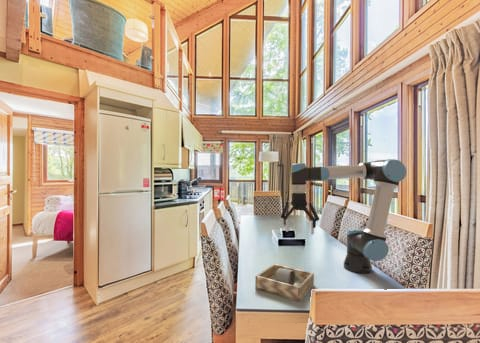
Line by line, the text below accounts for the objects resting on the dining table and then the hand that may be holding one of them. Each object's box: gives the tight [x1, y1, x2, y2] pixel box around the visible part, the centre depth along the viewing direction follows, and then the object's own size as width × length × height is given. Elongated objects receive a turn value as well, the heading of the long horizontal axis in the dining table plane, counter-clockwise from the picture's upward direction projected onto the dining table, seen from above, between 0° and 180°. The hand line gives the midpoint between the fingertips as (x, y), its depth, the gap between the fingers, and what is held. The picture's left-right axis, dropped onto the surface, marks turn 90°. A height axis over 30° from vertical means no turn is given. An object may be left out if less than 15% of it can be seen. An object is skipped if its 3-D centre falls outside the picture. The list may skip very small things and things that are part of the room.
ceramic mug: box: [275, 268, 296, 285], centre depth 121 cm, size 11×8×8 cm
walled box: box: [254, 263, 315, 303], centre depth 122 cm, size 22×20×6 cm
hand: (299, 232), depth 132 cm, fingers open, 13 cm apart
